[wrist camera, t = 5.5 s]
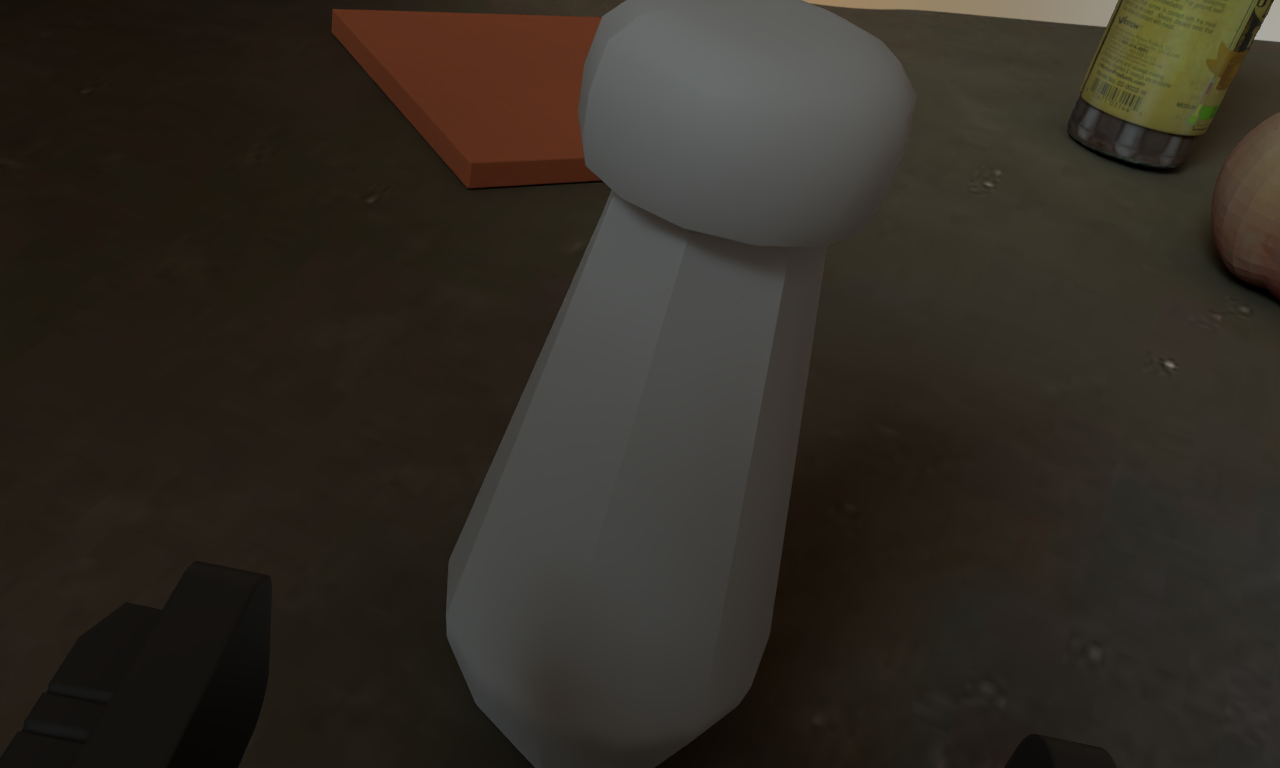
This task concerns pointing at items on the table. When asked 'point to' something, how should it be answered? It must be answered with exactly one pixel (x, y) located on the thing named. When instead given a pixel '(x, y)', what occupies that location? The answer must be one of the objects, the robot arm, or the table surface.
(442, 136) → the mat
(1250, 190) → the fruit
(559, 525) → the salt shaker
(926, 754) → the table surface
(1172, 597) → the table surface
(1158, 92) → the sauce bottle
